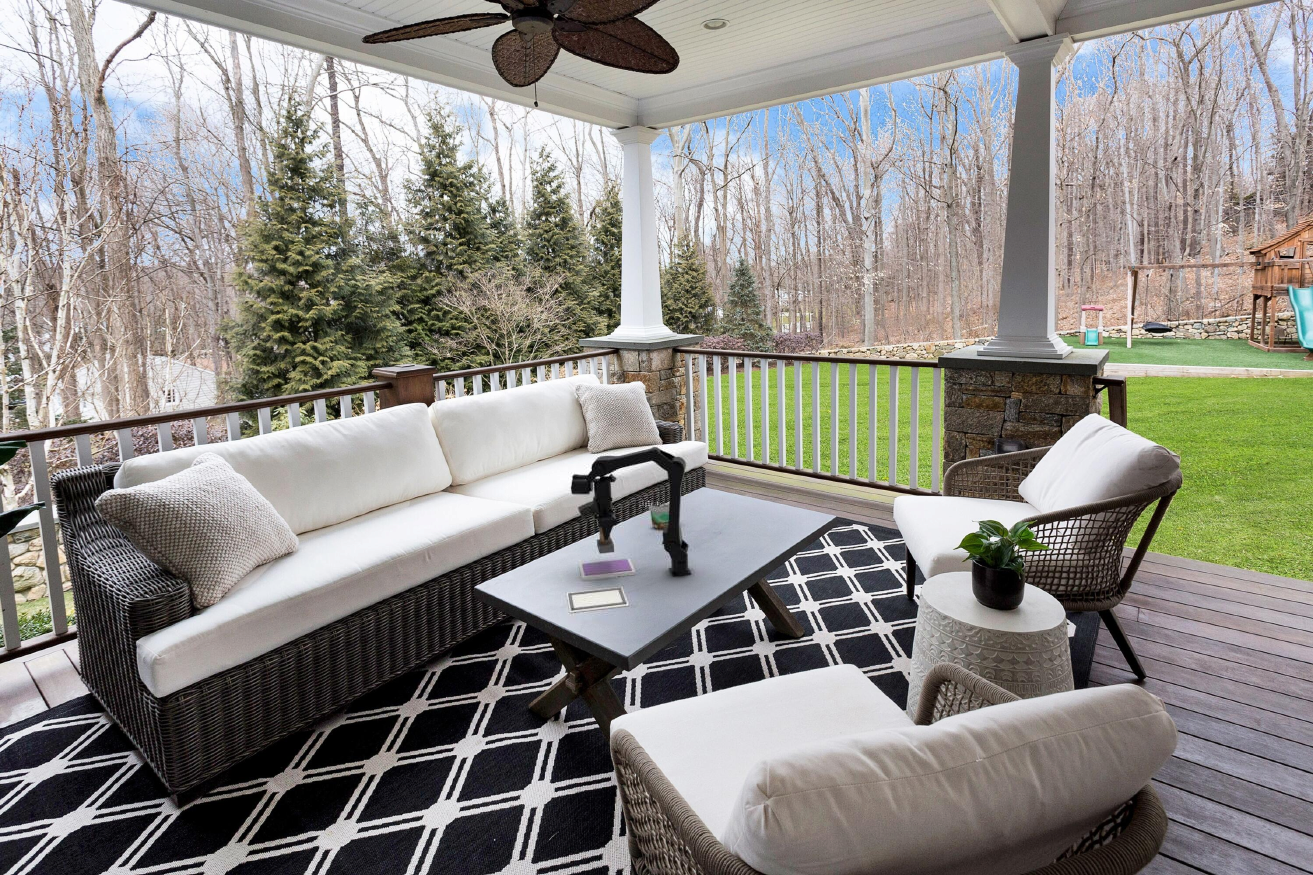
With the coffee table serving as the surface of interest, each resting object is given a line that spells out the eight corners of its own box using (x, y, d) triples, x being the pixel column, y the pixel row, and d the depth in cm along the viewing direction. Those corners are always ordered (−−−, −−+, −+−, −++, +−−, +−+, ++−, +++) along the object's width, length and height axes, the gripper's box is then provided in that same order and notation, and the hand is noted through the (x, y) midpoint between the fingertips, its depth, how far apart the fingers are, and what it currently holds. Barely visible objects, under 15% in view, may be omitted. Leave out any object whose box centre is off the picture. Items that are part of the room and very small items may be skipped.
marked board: (566, 593, 220) (566, 592, 220) (622, 587, 224) (621, 585, 224) (569, 613, 207) (569, 611, 207) (628, 606, 210) (628, 604, 210)
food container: (655, 532, 274) (654, 508, 272) (649, 528, 279) (648, 504, 277) (683, 528, 278) (682, 504, 276) (677, 523, 284) (676, 500, 282)
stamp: (597, 546, 239) (595, 521, 237) (611, 544, 240) (610, 520, 238) (599, 553, 232) (598, 528, 230) (614, 552, 233) (613, 526, 231)
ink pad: (579, 567, 242) (578, 562, 241) (629, 561, 245) (629, 557, 245) (582, 580, 230) (582, 576, 230) (635, 574, 234) (635, 570, 233)
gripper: (576, 489, 239) (579, 531, 243) (581, 504, 222) (584, 550, 225) (608, 486, 242) (610, 528, 245) (615, 501, 224) (618, 546, 227)
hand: (605, 538), depth 235 cm, fingers closed on stamp, 4 cm apart
